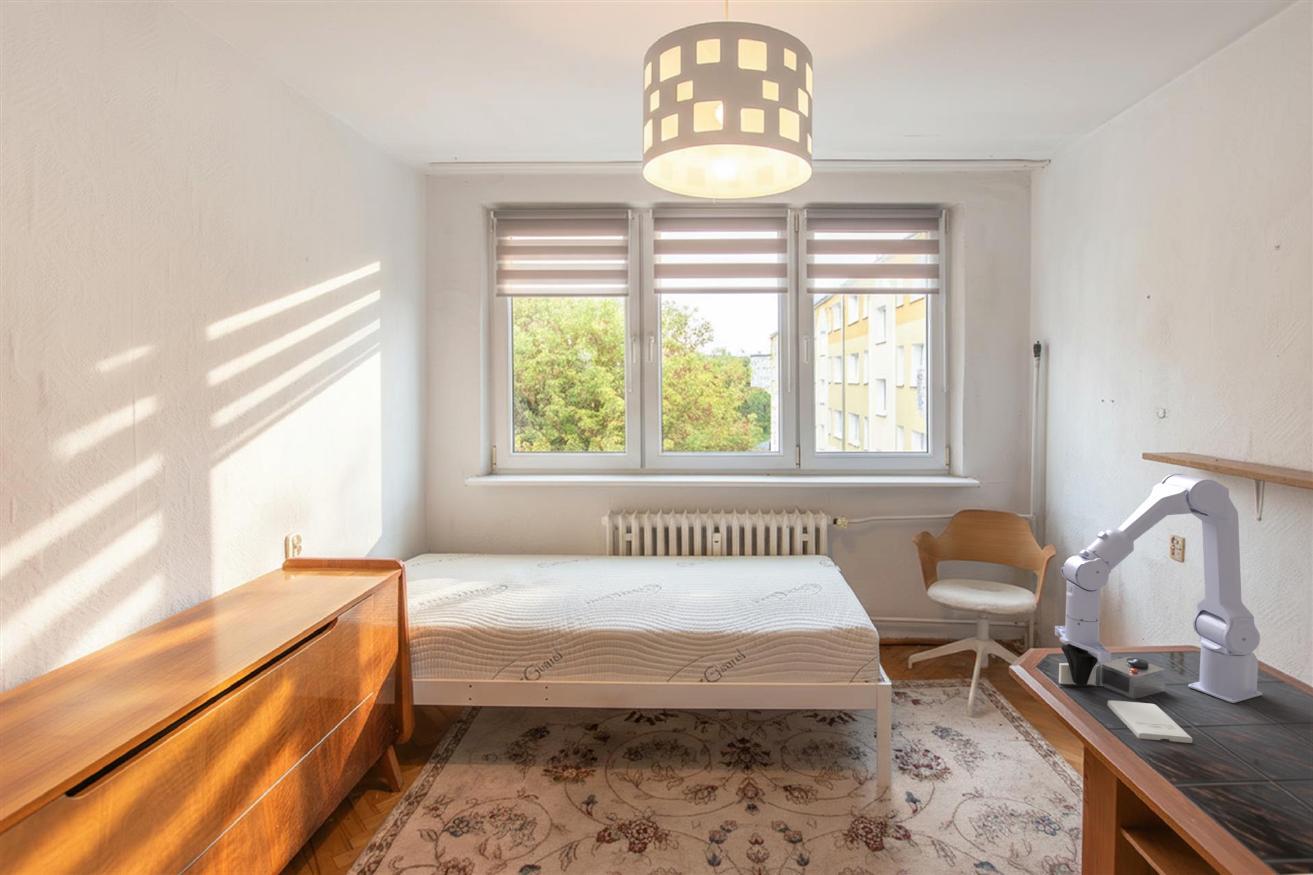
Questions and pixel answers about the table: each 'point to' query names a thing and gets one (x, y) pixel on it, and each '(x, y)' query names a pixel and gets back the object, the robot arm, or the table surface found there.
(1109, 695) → the table surface
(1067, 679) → the side door
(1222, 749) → the table surface
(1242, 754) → the table surface
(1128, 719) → the external hard drive
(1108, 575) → the robot arm
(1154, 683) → the camera body
